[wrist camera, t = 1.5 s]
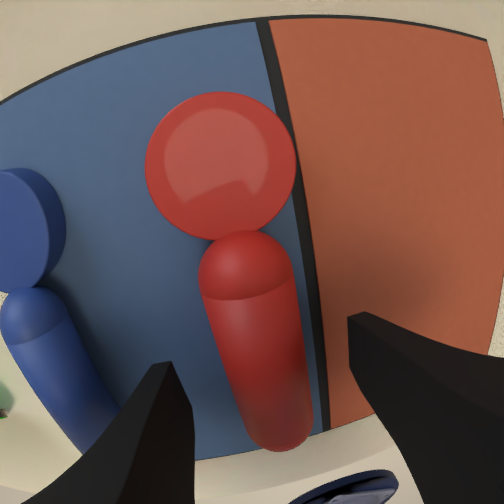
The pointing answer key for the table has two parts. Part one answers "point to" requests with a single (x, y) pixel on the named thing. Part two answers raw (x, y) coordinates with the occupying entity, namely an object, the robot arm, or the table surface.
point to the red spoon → (239, 250)
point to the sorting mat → (295, 209)
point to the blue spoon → (45, 311)
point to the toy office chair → (3, 414)
